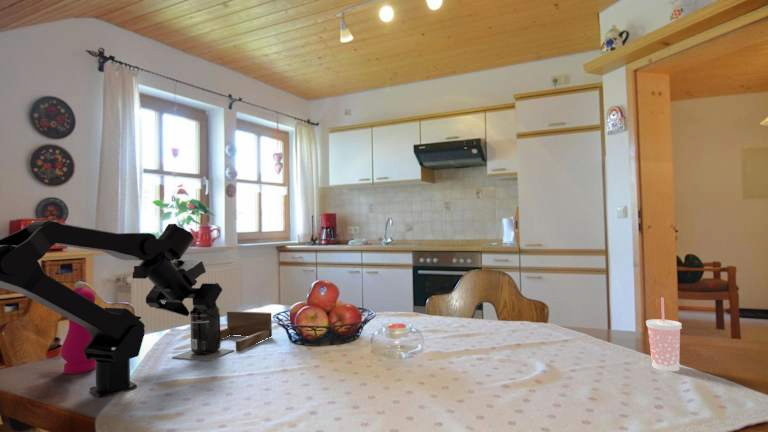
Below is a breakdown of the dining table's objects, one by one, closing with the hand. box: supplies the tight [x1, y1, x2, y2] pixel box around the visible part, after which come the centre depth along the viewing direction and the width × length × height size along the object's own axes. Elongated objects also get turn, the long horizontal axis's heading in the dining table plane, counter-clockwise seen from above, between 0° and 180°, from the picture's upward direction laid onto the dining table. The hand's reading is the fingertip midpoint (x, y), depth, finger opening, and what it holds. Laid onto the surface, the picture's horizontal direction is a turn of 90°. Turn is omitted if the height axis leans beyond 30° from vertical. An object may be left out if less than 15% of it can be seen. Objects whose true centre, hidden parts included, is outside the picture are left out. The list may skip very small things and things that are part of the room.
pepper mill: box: [60, 281, 96, 375], centre depth 100 cm, size 7×7×20 cm
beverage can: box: [189, 302, 222, 355], centre depth 109 cm, size 7×7×12 cm
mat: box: [171, 348, 235, 363], centre depth 108 cm, size 9×11×1 cm
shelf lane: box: [220, 310, 273, 352], centre depth 119 cm, size 14×14×7 cm
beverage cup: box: [645, 296, 682, 372], centre depth 88 cm, size 6×6×14 cm
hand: (202, 315), depth 109 cm, fingers open, 9 cm apart
